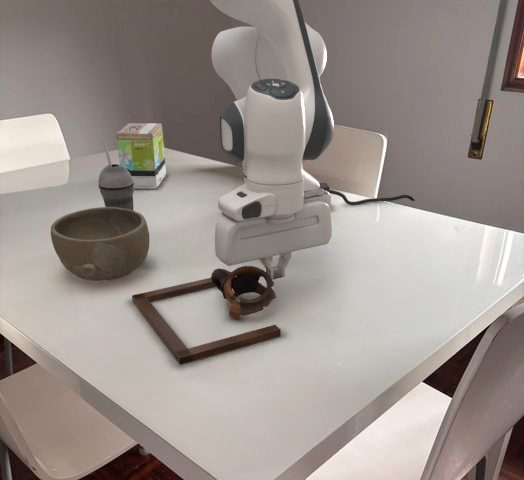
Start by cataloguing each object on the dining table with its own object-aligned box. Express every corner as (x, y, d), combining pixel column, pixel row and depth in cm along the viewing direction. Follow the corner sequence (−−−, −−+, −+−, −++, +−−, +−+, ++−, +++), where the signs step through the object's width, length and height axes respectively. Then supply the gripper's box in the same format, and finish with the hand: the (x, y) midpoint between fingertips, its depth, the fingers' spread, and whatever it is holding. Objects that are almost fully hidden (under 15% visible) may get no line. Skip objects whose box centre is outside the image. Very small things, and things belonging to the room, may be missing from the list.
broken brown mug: (283, 299, 98) (286, 272, 91) (259, 342, 94) (260, 317, 87) (223, 273, 100) (220, 244, 93) (196, 314, 96) (192, 287, 89)
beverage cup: (133, 244, 119) (119, 146, 109) (101, 242, 121) (84, 145, 110) (145, 232, 125) (134, 138, 115) (115, 230, 127) (101, 137, 116)
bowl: (108, 299, 98) (98, 245, 92) (39, 277, 106) (27, 226, 100) (172, 265, 110) (167, 215, 105) (106, 247, 118) (98, 200, 113)
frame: (219, 281, 103) (219, 275, 103) (280, 336, 87) (280, 329, 86) (132, 301, 97) (131, 295, 96) (180, 365, 80) (179, 358, 79)
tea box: (158, 189, 154) (152, 132, 146) (122, 189, 154) (113, 132, 146) (167, 174, 166) (162, 121, 158) (133, 175, 166) (126, 121, 159)
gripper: (320, 181, 94) (316, 259, 101) (207, 200, 86) (213, 283, 93) (342, 191, 89) (337, 271, 97) (225, 212, 81) (229, 298, 88)
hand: (275, 277), depth 95 cm, fingers closed
